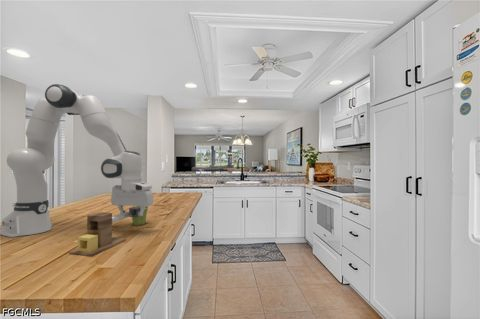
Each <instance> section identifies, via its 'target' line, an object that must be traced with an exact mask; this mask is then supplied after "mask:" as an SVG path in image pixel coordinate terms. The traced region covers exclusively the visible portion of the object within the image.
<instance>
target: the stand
mask: <svg viewBox="0 0 480 319" xmlns="http://www.w3.org/2000/svg"><path fill="white" fill-rule="evenodd" d="M112 217H113V213H112V212H101V211H99V212H95V213H91V214H88V215H87V216H86V218H87V220H86V222H87V223H86V224H87V226H86V229H87V230H86V234H91V235H98V249H96V250H93V251H91V252H82V251H78V247H77V248H75V249H73V250H69V251H68V254H69V255H75V256H76V255H77V256H83V257H84V256H85V257H95V256H96V255H99V254H100V253H102V252H105V251H107V250H109V249H111V248H113V247H116V246H117V245H120V244H121V243H123V242H126V241H127V238H124V237H123V238H122V237H116V236H115V237H113V222H112ZM97 222H98V226H97V225H96V223H97Z"/></svg>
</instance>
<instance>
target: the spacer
mask: <svg viewBox="0 0 480 319" xmlns="http://www.w3.org/2000/svg"><path fill="white" fill-rule="evenodd" d="M77 248H78V251H82V252H91V251H93V250H96V249H98V235H91V234H87V233H86V234H83V235H81V236H77Z"/></svg>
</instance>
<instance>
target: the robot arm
mask: <svg viewBox="0 0 480 319" xmlns="http://www.w3.org/2000/svg"><path fill="white" fill-rule="evenodd" d="M66 114H67V115H68V116H78V115H79V116H80V119H81V122H82V124H83V126H84V128H85V130H86V131H87V133H88V134H90V135H91V136H93V137H95V138H97V139H99V140H101V141H103V142H104V143H105V144H107V145H108V146H109V148H110V151H111V153H112V154H113V157H109V158H106V159H104V160H103V161H102V162H101V166H100V172H101V175H103V176H104V177H105V178H107V179H121V185H119V184H116V185H114V186H113V187H112V189H111V190H112V192H111V196H110V197H111V198H110V204H111V205H113V206H117V209H118V210H119V212H120V214H123V213H126V210H125V209H124V207H125V206H126V207H136V206H140V209H141V210H140V212H138V216H143V211H144V210H145V207H151V206H152V205H153V204H154V196H153V195H154V194H153V191H152V189H153V188H152V187H153V186H152V184H150V183H147V182H144V181H143V177H142V172H143V161H142V160H143V159H142V156H141V154H140V153H139V152H137V151H133V150H132V151H131V150H127V149H126V147H125V145H124V143H123V141H122V140H121V136H120V135H119V134H118V132H117V130H116V129H115V128H114V126H113V124H112V123H111V120H110V118H109V116H108V113H107V111H106V108H105V107H104V105H103V103H102V102H101V101H100V99H99V98H98V97H97V96H96V95H91V94H87V95H84V94H82V93H80V92H79V91H77V90H75V89H72V88H70V87H68V86H66V85H64V84H58V83H57V84H56V83H55V84H51V85H49V86H48V87H47V88H46V90H45V92H44V97H41V98H39V99H38V100H37V102H36V104H35V106H33V109H32V112H31V114H30V118H29V120H28V124H27V127H26V130H25V136H26V138H27V145H26V147H22V148H17V149H15V150H12V151H11V152H10V153H9V154H8V155H7V157H6V163H7V164H6V165H7V167H9V168H10V169H11V170H12V173H13V177H14V179H15V184H16V202H15V203H14V204H12V207H13V211H11V212H10V213H9V214H8V215H6V216H5V217H3V219H1V223H0V224H1V225H0V226H1V227H0V236H5V237H7V238H14V237H21V236H29V235H37V234H40V233H41V234H43V233H45V232H49V231H50V230H52V227H53V223H51V214H50V210H49V207H50V206H49V204H50V203H49V199H48V183H47V181H46V180H45V176H44V173H43V171H46V170H48V169H50V168H51V167H52V166H54V163H55V157H54V153H55V152H54V151H55V150H54V149H55V139H56V136H57V132H58V129H59V126H60V122H61V119H62V117H63V115H66ZM120 214H119V215H120Z"/></svg>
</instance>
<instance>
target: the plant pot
mask: <svg viewBox="0 0 480 319" xmlns="http://www.w3.org/2000/svg"><path fill="white" fill-rule="evenodd" d="M132 207H133V206H130V208H132ZM135 207H138V208H140V206H135ZM149 207H150V206H148V207H145V210H144V211H143V216H139V217H131V222H132V225H134V226H140V225H141V226H142V225H146V220H147V214H148V210H149ZM140 210H141V209H140Z"/></svg>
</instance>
